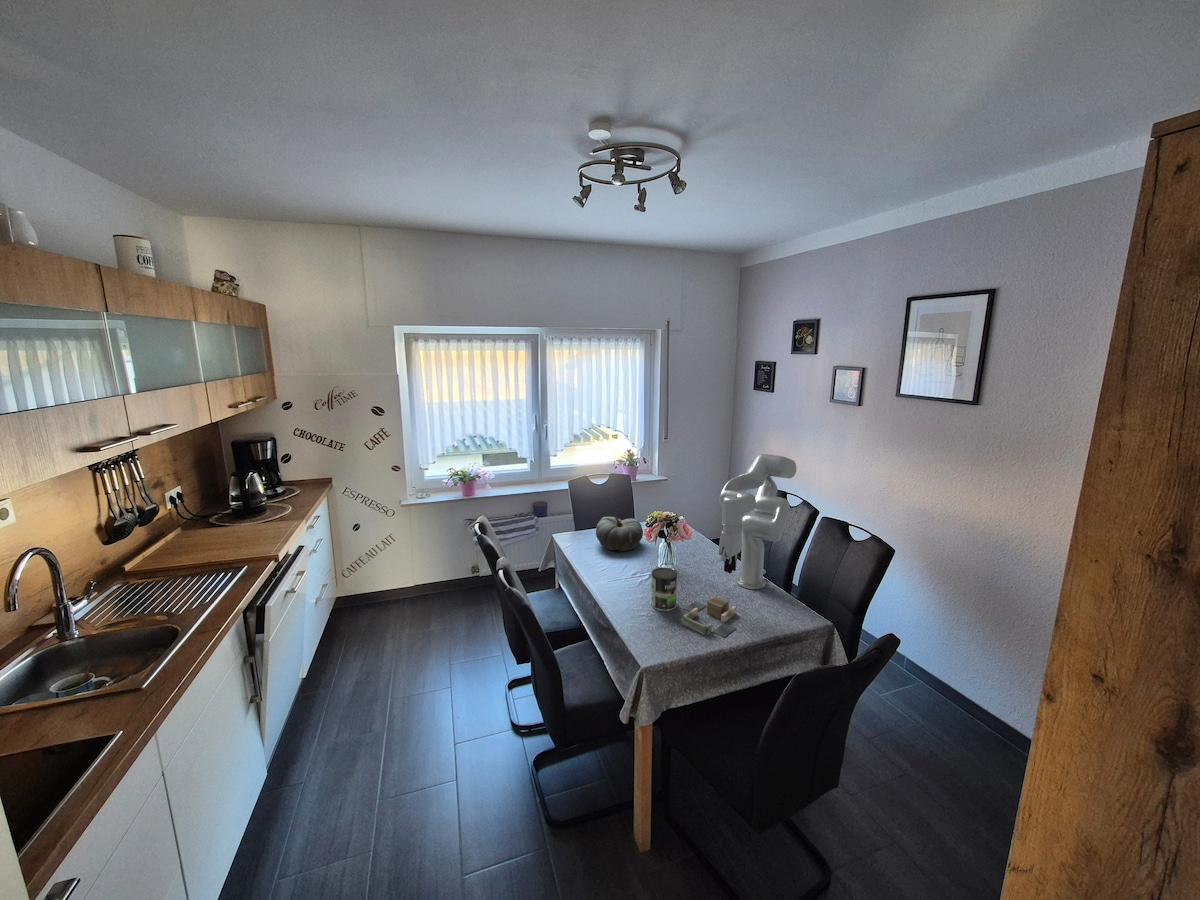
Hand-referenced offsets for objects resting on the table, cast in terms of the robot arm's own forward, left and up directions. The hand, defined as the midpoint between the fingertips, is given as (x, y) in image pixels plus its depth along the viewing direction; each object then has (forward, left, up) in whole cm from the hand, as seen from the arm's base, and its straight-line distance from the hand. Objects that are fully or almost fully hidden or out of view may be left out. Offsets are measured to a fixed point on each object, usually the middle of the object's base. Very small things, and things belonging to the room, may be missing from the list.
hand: (729, 570), depth 191 cm
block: (+8, 0, -15) cm, 17 cm away
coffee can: (+18, -19, -15) cm, 30 cm away
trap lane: (+14, 0, -15) cm, 21 cm away
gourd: (-14, -74, -15) cm, 77 cm away
